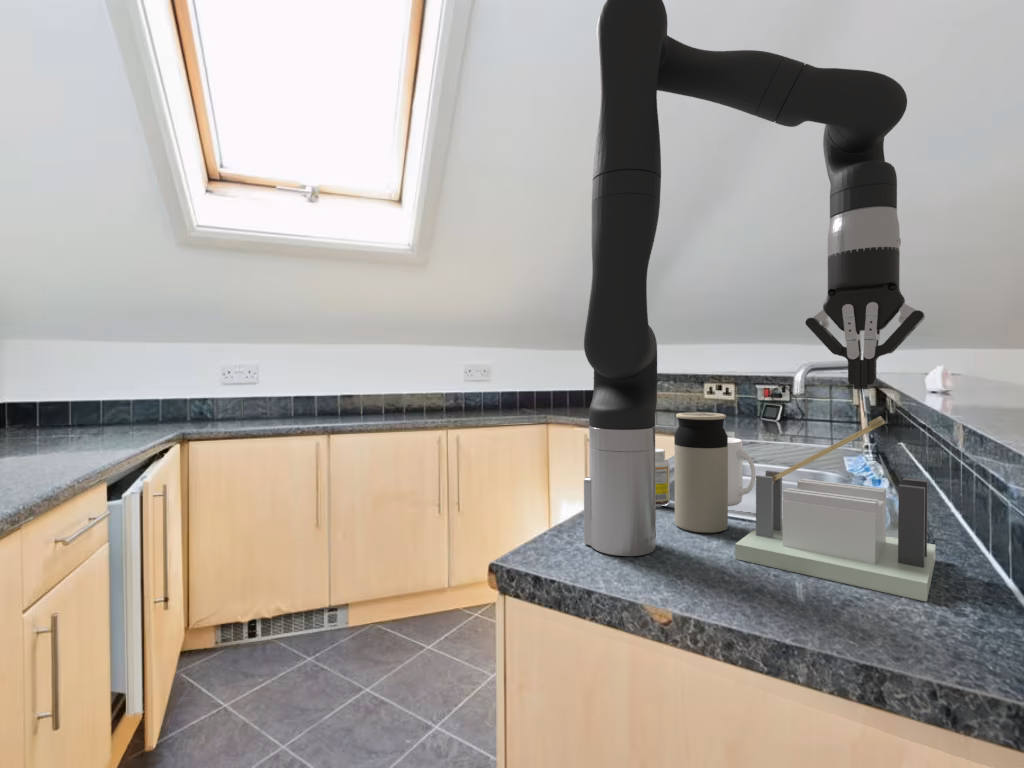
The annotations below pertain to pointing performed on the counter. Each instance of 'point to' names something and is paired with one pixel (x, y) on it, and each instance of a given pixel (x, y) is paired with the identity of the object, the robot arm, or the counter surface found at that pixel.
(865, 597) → the counter surface
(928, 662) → the counter surface
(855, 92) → the robot arm
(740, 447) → the mug
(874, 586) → the board
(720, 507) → the travel mug
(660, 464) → the supplement bottle
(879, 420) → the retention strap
